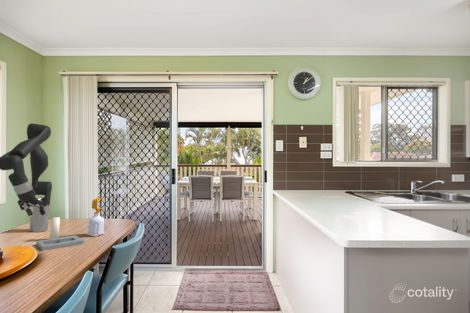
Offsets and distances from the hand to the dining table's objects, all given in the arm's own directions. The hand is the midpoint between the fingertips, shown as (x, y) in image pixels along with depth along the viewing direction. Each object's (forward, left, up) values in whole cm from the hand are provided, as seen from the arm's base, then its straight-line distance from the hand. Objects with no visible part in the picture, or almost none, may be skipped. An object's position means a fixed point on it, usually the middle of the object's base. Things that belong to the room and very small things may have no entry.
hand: (37, 214), depth 146 cm
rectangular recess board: (+12, +2, -17) cm, 21 cm away
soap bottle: (+22, +24, -17) cm, 37 cm away
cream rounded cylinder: (+3, +12, -17) cm, 21 cm away
